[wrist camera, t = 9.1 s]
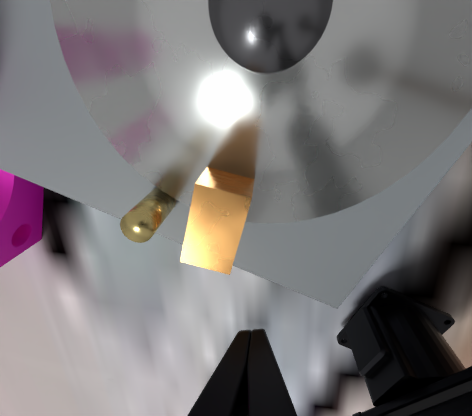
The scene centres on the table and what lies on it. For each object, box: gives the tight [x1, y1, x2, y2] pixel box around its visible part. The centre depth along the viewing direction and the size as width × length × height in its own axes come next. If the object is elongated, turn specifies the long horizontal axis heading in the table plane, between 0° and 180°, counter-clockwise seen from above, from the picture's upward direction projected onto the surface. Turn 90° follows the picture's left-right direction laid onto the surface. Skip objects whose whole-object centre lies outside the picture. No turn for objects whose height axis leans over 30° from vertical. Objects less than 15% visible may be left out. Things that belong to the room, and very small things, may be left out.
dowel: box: [120, 188, 176, 243], centre depth 14 cm, size 2×2×4 cm
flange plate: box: [50, 0, 472, 275], centre depth 10 cm, size 20×18×4 cm
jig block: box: [0, 0, 472, 308], centre depth 14 cm, size 23×23×4 cm
